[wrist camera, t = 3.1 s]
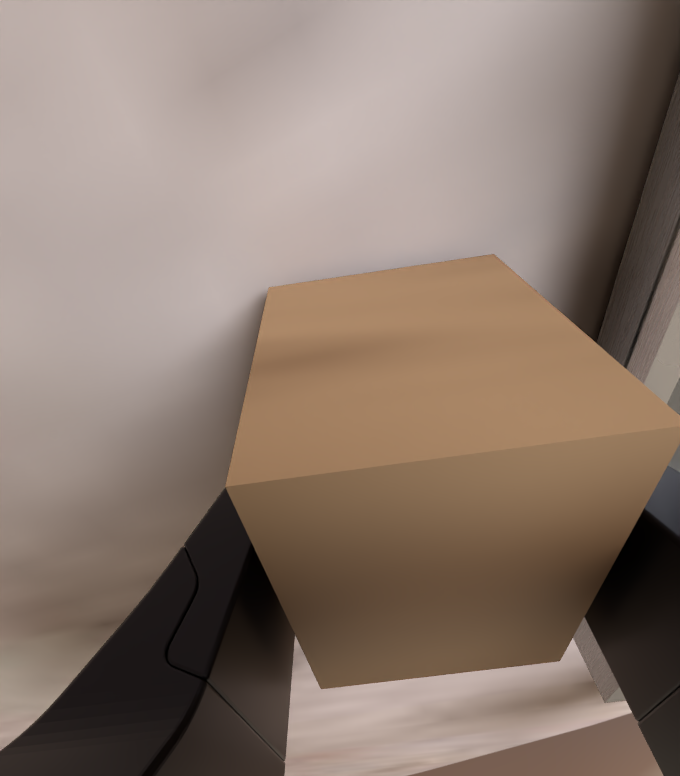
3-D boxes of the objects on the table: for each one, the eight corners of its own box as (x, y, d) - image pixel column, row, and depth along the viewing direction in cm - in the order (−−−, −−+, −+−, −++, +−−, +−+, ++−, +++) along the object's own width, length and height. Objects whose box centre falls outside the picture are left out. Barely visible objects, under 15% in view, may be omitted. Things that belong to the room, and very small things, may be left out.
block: (471, 461, 11) (560, 661, 7) (317, 481, 11) (321, 689, 7) (493, 254, 8) (688, 424, 4) (268, 287, 8) (225, 486, 4)
